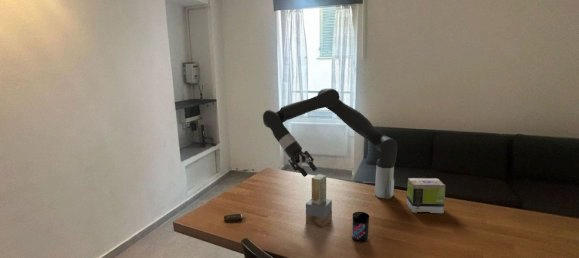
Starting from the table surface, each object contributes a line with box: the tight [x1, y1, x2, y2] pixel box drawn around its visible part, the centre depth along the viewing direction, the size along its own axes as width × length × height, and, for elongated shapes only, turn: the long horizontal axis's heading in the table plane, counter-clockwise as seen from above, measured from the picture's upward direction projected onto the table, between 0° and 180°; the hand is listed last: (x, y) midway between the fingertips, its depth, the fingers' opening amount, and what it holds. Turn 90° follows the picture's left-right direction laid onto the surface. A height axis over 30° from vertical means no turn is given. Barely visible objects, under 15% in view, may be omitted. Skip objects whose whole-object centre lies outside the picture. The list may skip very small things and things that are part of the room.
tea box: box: [406, 177, 446, 214], centre depth 149 cm, size 15×10×15 cm
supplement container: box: [351, 211, 370, 243], centre depth 124 cm, size 7×7×10 cm
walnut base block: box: [305, 209, 333, 229], centre depth 139 cm, size 9×9×5 cm
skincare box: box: [311, 173, 327, 205], centre depth 136 cm, size 6×4×12 cm
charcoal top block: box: [305, 198, 333, 218], centre depth 138 cm, size 9×9×5 cm
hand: (310, 173), depth 137 cm, fingers open, 8 cm apart
